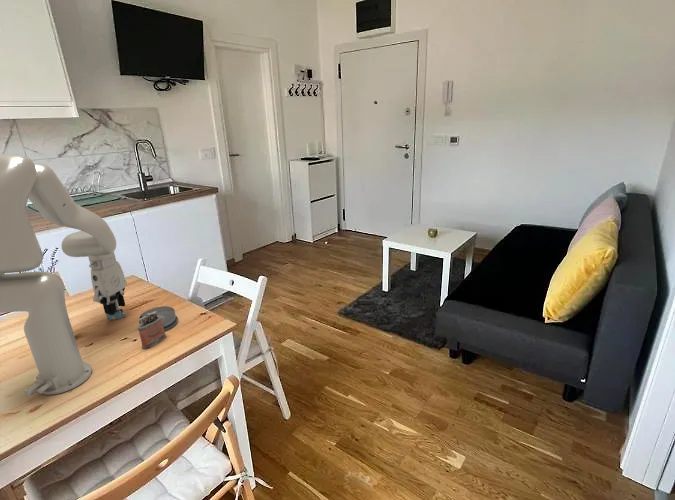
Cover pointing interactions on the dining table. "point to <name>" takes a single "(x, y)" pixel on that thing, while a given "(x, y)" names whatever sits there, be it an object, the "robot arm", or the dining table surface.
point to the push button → (115, 308)
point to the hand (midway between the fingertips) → (115, 309)
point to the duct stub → (164, 316)
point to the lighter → (151, 330)
